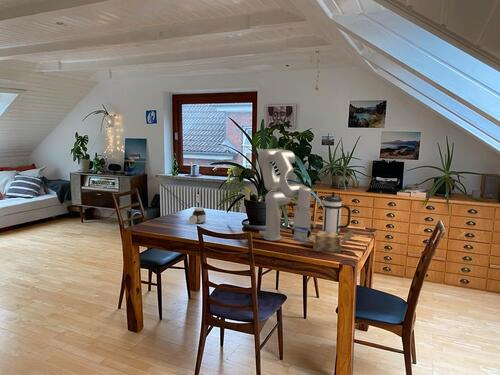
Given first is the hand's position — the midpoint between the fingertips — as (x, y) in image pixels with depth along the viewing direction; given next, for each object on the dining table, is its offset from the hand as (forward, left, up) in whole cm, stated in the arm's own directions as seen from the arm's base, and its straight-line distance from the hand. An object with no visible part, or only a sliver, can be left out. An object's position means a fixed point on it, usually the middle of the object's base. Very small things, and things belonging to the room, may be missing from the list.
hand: (300, 235), depth 213 cm
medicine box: (0, +1, -3) cm, 3 cm away
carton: (+13, +12, -10) cm, 20 cm away
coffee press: (+20, +45, -10) cm, 50 cm away
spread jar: (-81, +42, -10) cm, 92 cm away
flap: (+25, +12, -4) cm, 28 cm away
